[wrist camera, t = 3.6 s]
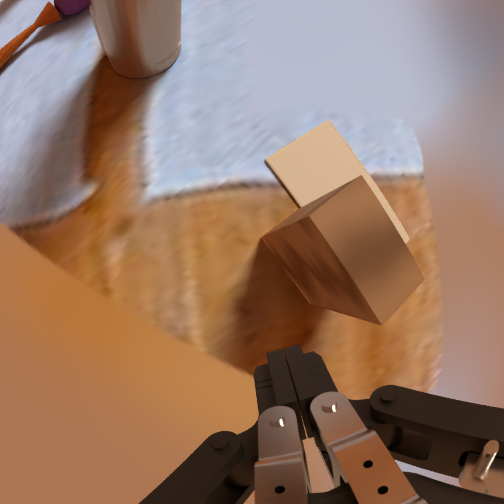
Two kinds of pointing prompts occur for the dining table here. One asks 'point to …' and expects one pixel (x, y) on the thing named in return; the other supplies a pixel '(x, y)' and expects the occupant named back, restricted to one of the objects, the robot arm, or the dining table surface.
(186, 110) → the dining table surface
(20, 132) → the dining table surface
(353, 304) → the walnut block
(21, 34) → the maraca
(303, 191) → the beige rectangular block
